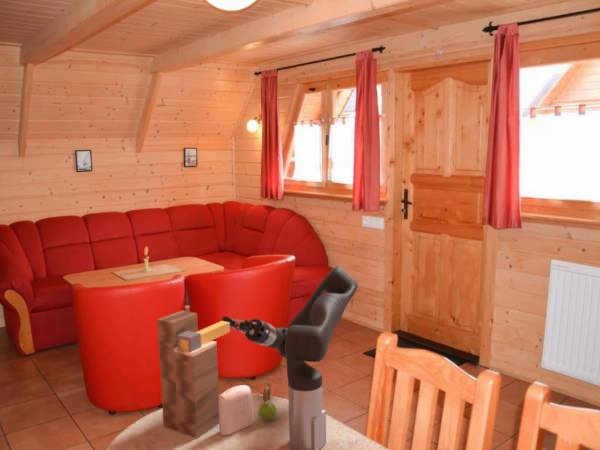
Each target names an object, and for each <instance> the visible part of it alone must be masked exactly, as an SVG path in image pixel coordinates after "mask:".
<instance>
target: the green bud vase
mask: <svg viewBox="0 0 600 450" xmlns="http://www.w3.org/2000/svg"><path fill="white" fill-rule="evenodd" d="M267 379H268V380H267V382H266V385H267V386H265V387H264V388H263V392H262V399H263V401H264V402H262V403H261V404H260V405H259V407H258V416H259V418H260V419H261V420H263V421H265V422H270V421H272V420H273V419H274V418H275V417H276V415H277V412H278V411H277V410H278V409H277V407H276V405H275V404H274V403H273V402H271V397H272V395H271V394H272V381H271V380H272V376H267Z"/></svg>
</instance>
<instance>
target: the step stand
mask: <svg viewBox="0 0 600 450" xmlns="http://www.w3.org/2000/svg"><path fill="white" fill-rule="evenodd" d="M156 320H157V321H156V323H157V337H158V338H157V339H158V341H157V343H158V356H159V369H160V371H159V373H160V387H161V403H162V404H161V405H162V421H163V424H162V425H163V428H166V429H169V430H171V431H174V432H178V433H180V434H183V435H185V436H189V437H191V438H194V439H199V438H201V436H203V435H204V434H206V433H207V432H209V431H210V430H211V429H213V428H215V427H216V426H218V425H219V405H218V399H219V396H220V391H219V389H220V388H219V369H218V368H219V366H218V365H219V363H218V346H217V345H218V343H217V342H218V341H214V340H212V341H209V342H207V343H205V344H203V345H201V348H199V349H196V350H194V351H192V352H189V351H185V350H181V349H178V339H177V335H178V334H181V333H183V332H186V331H191V332H197V331H199V325H198V324H199V323H198V313H197V312H192V311H187V310H183V309H182V310H180V311H177V312H174V313H172V314H168V315H166V316H163V317H160V318H158V319H156Z"/></svg>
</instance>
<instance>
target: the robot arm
mask: <svg viewBox="0 0 600 450" xmlns="http://www.w3.org/2000/svg"><path fill="white" fill-rule="evenodd" d="M358 288H359V287H358V282H357V281H356V279H355V278H353V277H352V275H350V274H349V273H347V271H345V270H344V269H343V268H341V267H339V266H336V267H334V268H332V269H331V270H330V271H329V272H328V273H327V274H326V275H325V277H324V278H323V279H322V281H321V282H320V283H319V284H318V286H317V287H316V289H315V290H314V291H313V293H312V294H311V296H310V297H309V298H308V300H307V302H306V303H305V304H304V306H303V307H302V308H301V310H300V311H299V312H298V313H297V314H296V315H295V316H294V317H293V318H292V320H291V321H290V322H289V324H288V327H276V326H273V325H272V324H271V323H268V322H266V321H264V320H262V319H259V318H252V319H251V320H246V319H245V320H243V319H239V318H237V319H234V318H232V317H228V316H225V315H224V316H223V317H222V320H221V321H225V322H230V329H233V330H235V331H238V332H241V333H242V334H243V333H244V337H245V338H246V339H247V340H248V341H250V342H251V343H255V344H258V345H260V346H264V347H268V348H269V349H277V351H278V353H279V355H280V356H281V357H283V358H285V361H286V376H287V377H286V378H287V383H288V384H287V387H288V389H287V391H288V421H289V422H288V425H289V426H288V430H289V432H288V434H289V446H290V448H291V449H292V450H320V449H321V448H323V447H324V446H325V444H327V411H326V410H325V409H324V405H323V404H324V403H323V398H324V397H323V396H324V395H323V392H324V391H323V390H324V389H323V374H322V372H321V371H319V369H317V368H315V367H313V366H311V365H309V364H308V363H306V362H309V363H312V362H313V363H317V362H321V361H322V360H323V359H324V358H325V356H326V354H327V352H328V350H329V346H330V342H331V341H332V340H331V339H332V336H333V334H334V332H335V330H336V328H337V326H338V324H339V323H340V322H341V319H342V317H343V315H344V312H345V311H346V308H347V306H348V304H349V303H350V301H351V300H352V299H353V297H354V296H355V293H356V292H357V290H358ZM239 322H240V324H239Z"/></svg>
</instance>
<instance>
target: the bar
mask: <svg viewBox="0 0 600 450" xmlns="http://www.w3.org/2000/svg"><path fill="white" fill-rule="evenodd" d="M230 332H231V328H230V322H225V321H222V320H221V321H219V322H216V323H214V324H211V325H210V326H207V327H204V328H202V329H200V330H198V331H197V332H191V331H186V332H183V333H181V334H178V335H177V339H178V349H181V350H185V351H189V352H192V351H194V350H196V349H199V348H201V345H203V344H205V343H207V342H209V341H214V340H215V339H218V338H220V337H222V336H225V335H226V334H228V333H230Z"/></svg>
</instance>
